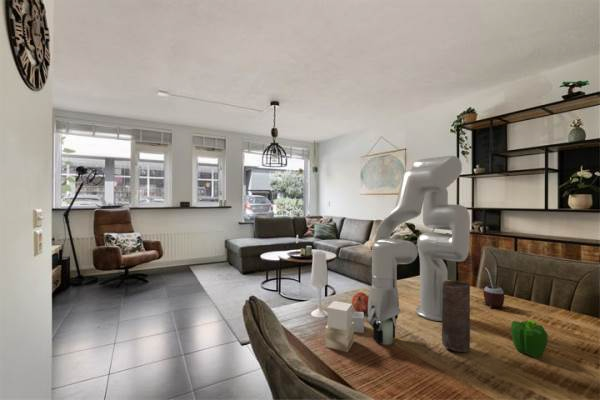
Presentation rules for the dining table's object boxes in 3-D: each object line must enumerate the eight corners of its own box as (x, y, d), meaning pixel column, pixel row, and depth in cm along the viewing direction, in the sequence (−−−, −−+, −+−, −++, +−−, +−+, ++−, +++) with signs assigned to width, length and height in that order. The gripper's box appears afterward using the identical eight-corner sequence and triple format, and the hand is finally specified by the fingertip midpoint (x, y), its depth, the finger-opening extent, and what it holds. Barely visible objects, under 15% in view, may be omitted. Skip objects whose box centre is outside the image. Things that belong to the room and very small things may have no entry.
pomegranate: (354, 311, 116) (344, 302, 110) (361, 295, 118) (352, 286, 112) (370, 319, 110) (360, 310, 104) (377, 302, 113) (368, 292, 107)
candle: (469, 358, 78) (469, 287, 78) (440, 351, 82) (440, 283, 82) (470, 346, 84) (470, 280, 84) (443, 339, 88) (443, 277, 88)
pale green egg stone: (394, 338, 89) (393, 319, 89) (391, 346, 85) (391, 326, 85) (377, 335, 92) (377, 316, 92) (374, 342, 87) (374, 323, 87)
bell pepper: (508, 342, 87) (508, 310, 87) (543, 349, 83) (543, 315, 83) (513, 355, 80) (513, 320, 79) (551, 363, 75) (551, 327, 75)
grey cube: (363, 326, 98) (363, 312, 98) (363, 333, 93) (363, 318, 93) (349, 325, 99) (348, 311, 99) (348, 331, 94) (348, 317, 94)
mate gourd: (501, 311, 109) (501, 273, 109) (478, 305, 116) (478, 269, 115) (507, 307, 114) (507, 270, 114) (485, 301, 120) (485, 267, 120)
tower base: (353, 341, 88) (353, 322, 88) (347, 352, 81) (347, 332, 81) (332, 336, 91) (332, 318, 91) (325, 347, 84) (325, 327, 84)
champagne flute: (322, 309, 113) (322, 250, 113) (331, 315, 107) (331, 253, 107) (307, 312, 110) (307, 251, 110) (316, 318, 104) (315, 254, 104)
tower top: (352, 322, 87) (352, 303, 87) (346, 331, 82) (346, 310, 82) (333, 319, 90) (333, 300, 90) (327, 327, 85) (327, 307, 85)
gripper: (391, 274, 96) (391, 327, 96) (356, 283, 86) (356, 341, 86) (411, 279, 90) (411, 336, 90) (375, 290, 80) (375, 352, 80)
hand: (384, 338), depth 88 cm, fingers closed on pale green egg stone, 5 cm apart
